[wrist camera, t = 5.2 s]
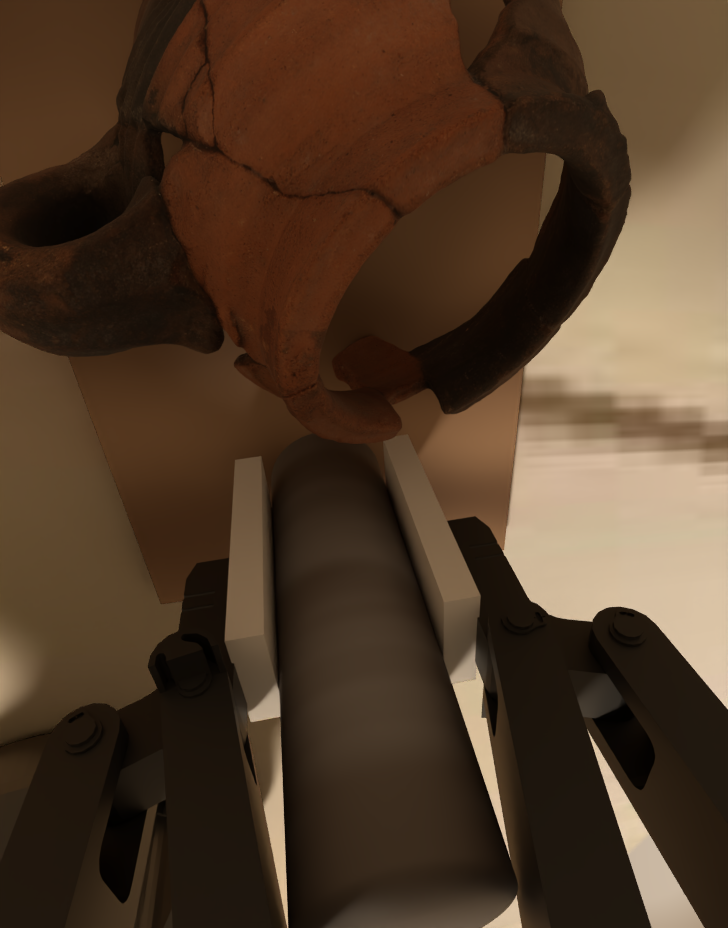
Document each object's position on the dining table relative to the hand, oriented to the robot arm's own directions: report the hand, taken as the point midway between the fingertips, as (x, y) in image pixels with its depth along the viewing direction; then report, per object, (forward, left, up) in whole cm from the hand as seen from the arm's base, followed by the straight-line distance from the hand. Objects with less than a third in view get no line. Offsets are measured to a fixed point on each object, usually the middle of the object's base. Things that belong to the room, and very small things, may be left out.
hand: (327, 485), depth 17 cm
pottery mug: (+8, 0, -2) cm, 8 cm away
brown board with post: (+4, 0, -2) cm, 5 cm away
